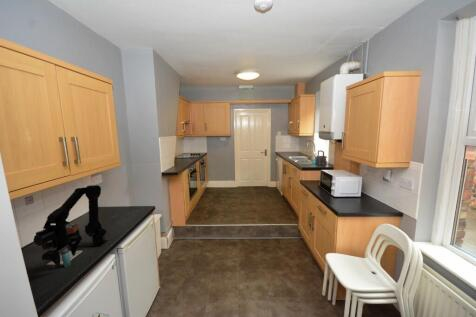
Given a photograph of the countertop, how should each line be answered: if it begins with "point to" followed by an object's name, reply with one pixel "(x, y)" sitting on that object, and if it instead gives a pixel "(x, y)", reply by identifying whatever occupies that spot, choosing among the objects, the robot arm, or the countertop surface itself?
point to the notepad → (69, 257)
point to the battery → (73, 230)
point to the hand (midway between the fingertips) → (66, 260)
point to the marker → (65, 257)
